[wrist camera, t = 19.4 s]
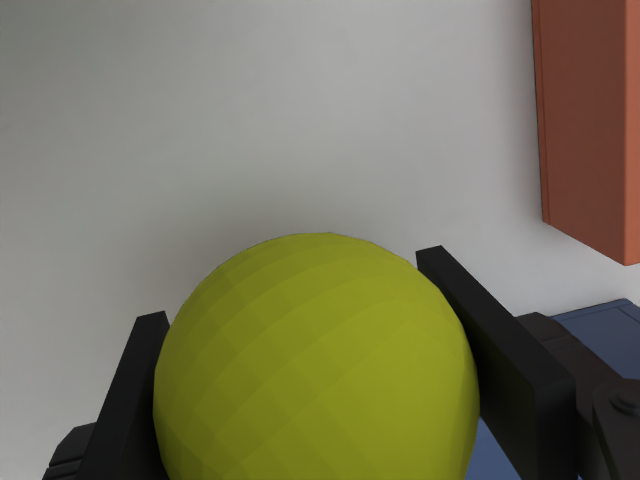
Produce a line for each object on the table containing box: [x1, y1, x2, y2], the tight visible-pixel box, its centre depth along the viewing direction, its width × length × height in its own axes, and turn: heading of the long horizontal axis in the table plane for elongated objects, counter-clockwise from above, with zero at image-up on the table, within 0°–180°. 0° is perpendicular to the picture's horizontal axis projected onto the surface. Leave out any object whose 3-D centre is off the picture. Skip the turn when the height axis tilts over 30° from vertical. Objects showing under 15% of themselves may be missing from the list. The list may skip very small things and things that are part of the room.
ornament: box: [153, 233, 480, 480], centre depth 11 cm, size 7×7×10 cm
